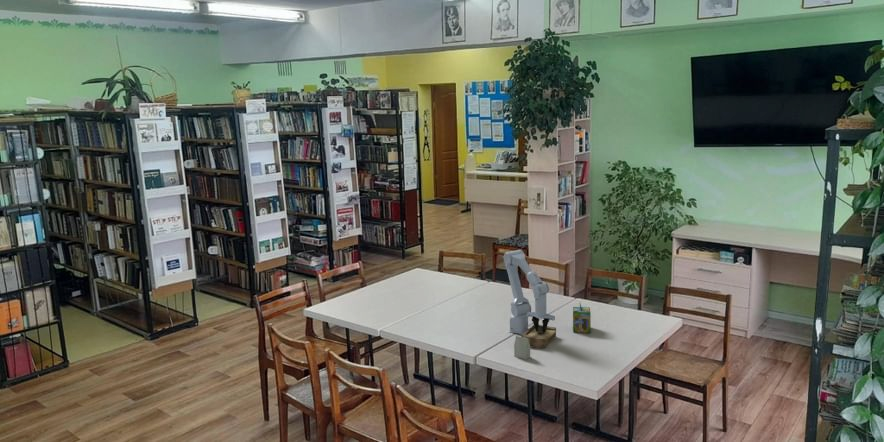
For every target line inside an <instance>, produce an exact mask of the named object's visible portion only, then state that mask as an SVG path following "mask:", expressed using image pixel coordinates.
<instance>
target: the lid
mask: <svg viewBox="0 0 884 442" xmlns="http://www.w3.org/2000/svg"><path fill="white" fill-rule="evenodd" d="M555 332H556V333H557V329H556V330H552V329H546V332H545V333H543V326H538V331H537V332H536V329H535V328H534V329H533V330H532V331H531V332H530V333H529V334H528V335H531V336H537V337H543V338H545V339H544V341H547V340H548V339H549V338H550V337H551V336H552V335H553V334H554V333H555Z"/></svg>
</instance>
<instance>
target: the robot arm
mask: <svg viewBox="0 0 884 442" xmlns="http://www.w3.org/2000/svg"><path fill="white" fill-rule="evenodd" d="M502 258H503V263H504V266H505V268H506V272H507V275H508V279H509V284H510V289H511V292H512V296H513V300H512V301H511V303H510V311H511V316H510V318H509V331H508V332H509V333H513V334H517V335H518V334H519V335H523V334H524V333H525V332H526V331H527V330H528V329H529V317H531V321H532V323H533V325H534V326H535V329H536V332H537V331H538V326H539V325H540V319H542V320H541V322H542V325H543V333H545V332H546V328H547V326H548V324H549V322H550V321H555V320H556V315H552V314H550V313H547V294H548V293H549V291H550V287H549V285H548V283H547V282H545V281H543V280H542V279H541V278H540V276H539V275H538V274H537V272H536V271H533V270H532V269H531V267H530V265H529V263H528V262H527V260H526V254H525V253H524V251H523V250H522V249H517V250H511V251H506V252H504V255H503V257H502ZM518 267H519V268H520V269H521V270H522V272H523V273H524V274H525V275H526V278H525V279H526V280H527V282H528V283H529V285H530V286H531V288H532V293H533V297H534V311H533V312H532V305H531V304H530V301H529V299H528V298H526V297H525V296H524V292H523V288H522V285H521V280H520V275H519V272H518Z"/></svg>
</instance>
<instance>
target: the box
mask: <svg viewBox="0 0 884 442" xmlns="http://www.w3.org/2000/svg"><path fill="white" fill-rule="evenodd" d="M539 326H543V324H539ZM534 328H535V326H534V324H533V325H532V326H530V327H528V330H527V331H526V332H525V333H524V334H520V335H521V336H520V337H524V338H528V339H529V343H530V348H531V347H532V348H536V349H543V350H544V349H545V348H546V347H547V346H549V344H550V343H551V342H552V341H553V340H554V339H556V337H557V327H554V326H548V325H547V328H546V329H552V330H556V332H555V333H554V334H553V335H552V336H551V337H550V338H549V339H548V340H547V341H544V339H545V338H543V337H537V336H531V335H528V334H529V333H530V332H531V331H532V330H533V329H534Z"/></svg>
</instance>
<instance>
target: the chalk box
mask: <svg viewBox="0 0 884 442" xmlns="http://www.w3.org/2000/svg"><path fill="white" fill-rule="evenodd" d="M591 317H592V316H591V307H590V306H589V307H587V306H582V304H581V302H579V306H572V332H573V333H588V334H589V333H590V334H591V331H592V330H591V329H592V328H591V325H592V324H591V323H592V322H591V320H592V319H591Z"/></svg>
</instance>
